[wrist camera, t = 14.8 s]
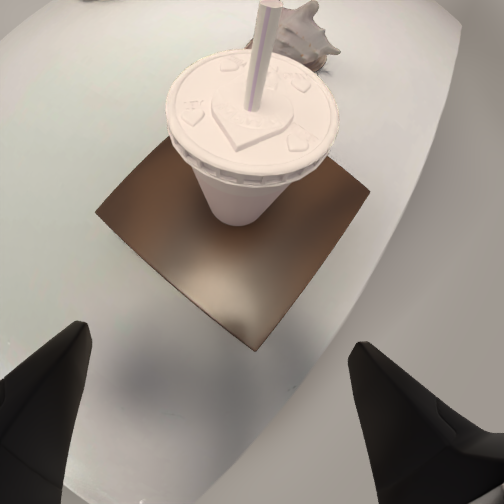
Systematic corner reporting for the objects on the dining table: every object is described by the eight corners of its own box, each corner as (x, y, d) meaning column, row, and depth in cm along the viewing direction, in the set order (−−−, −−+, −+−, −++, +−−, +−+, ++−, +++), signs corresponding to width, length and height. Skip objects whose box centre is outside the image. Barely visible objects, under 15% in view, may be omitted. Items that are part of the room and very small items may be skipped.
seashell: (343, 63, 28) (370, 8, 19) (294, 110, 25) (322, 39, 16) (274, 27, 28) (287, -28, 19) (214, 66, 25) (216, -4, 16)
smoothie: (174, 231, 17) (88, 47, 4) (205, 147, 19) (202, -45, 5) (273, 259, 18) (409, 120, 4) (294, 171, 19) (387, -1, 6)
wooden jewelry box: (349, 208, 24) (371, 191, 20) (249, 344, 20) (255, 352, 17) (225, 116, 24) (226, 87, 20) (113, 228, 21) (94, 212, 17)
